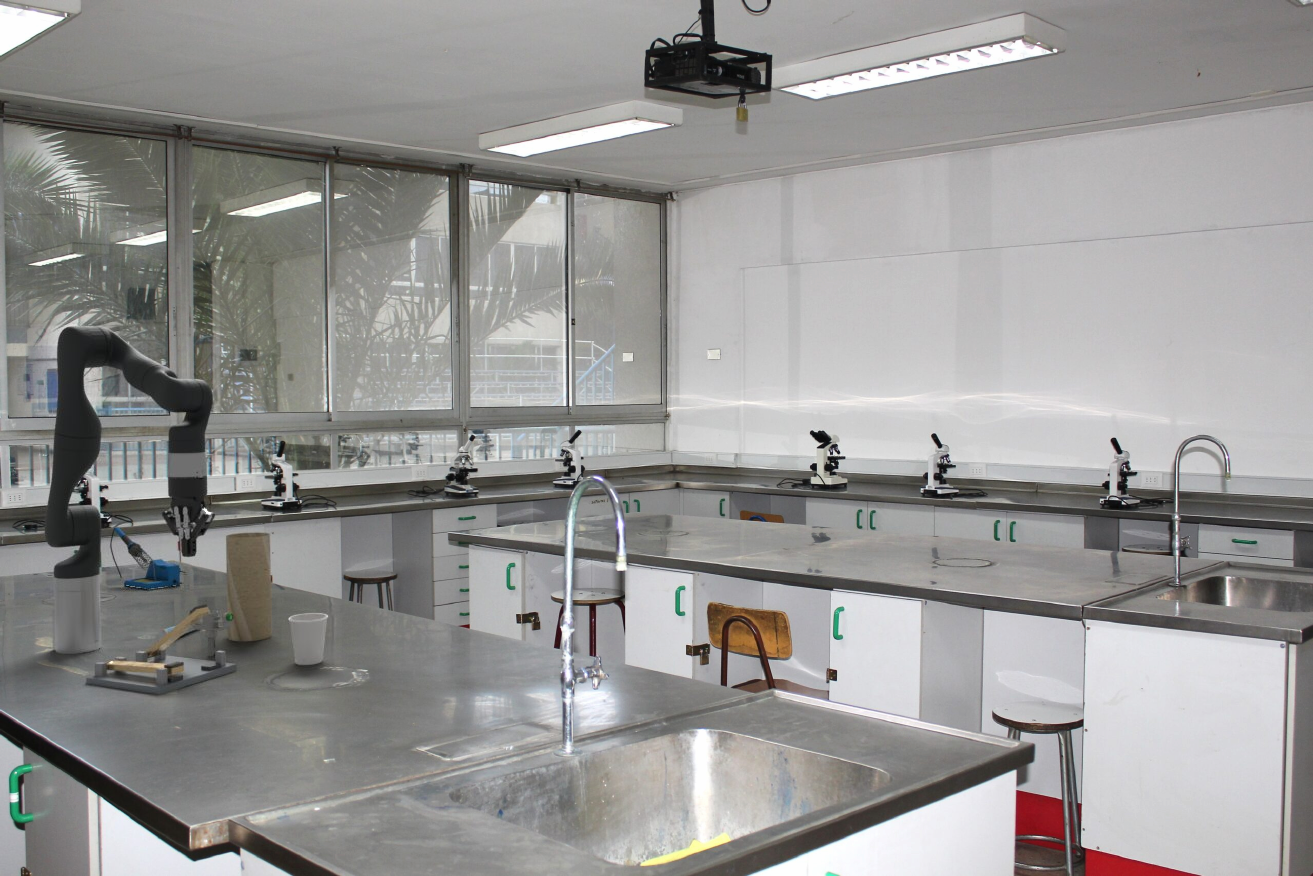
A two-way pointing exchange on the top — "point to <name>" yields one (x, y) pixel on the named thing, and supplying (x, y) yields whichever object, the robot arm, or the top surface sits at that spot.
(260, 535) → the tube
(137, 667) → the strap front
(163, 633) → the 3d printing pen
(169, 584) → the soldering iron
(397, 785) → the top surface
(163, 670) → the mount plate
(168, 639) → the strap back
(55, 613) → the robot arm
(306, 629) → the dixie cup
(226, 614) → the mechanical component
